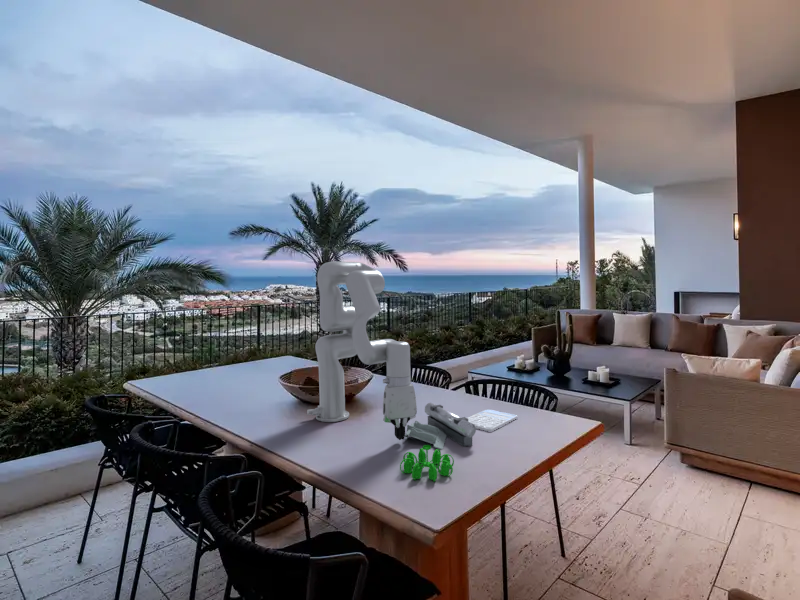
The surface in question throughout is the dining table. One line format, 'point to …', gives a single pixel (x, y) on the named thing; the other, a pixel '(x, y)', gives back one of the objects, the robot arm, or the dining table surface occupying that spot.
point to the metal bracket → (426, 434)
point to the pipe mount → (450, 424)
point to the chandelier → (427, 463)
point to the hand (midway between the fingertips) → (400, 438)
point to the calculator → (491, 419)
